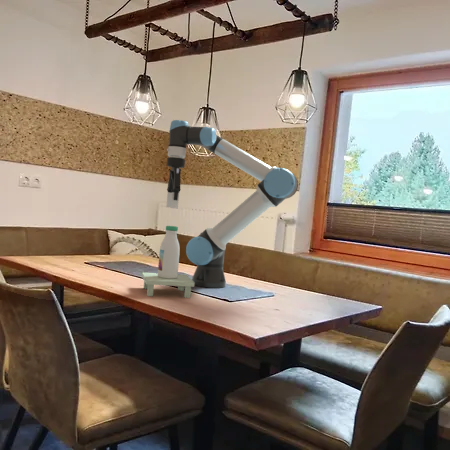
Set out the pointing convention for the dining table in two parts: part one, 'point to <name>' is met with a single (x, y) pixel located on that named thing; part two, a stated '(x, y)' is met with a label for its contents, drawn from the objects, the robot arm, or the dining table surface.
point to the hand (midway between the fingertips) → (171, 208)
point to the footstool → (167, 283)
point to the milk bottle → (169, 254)
